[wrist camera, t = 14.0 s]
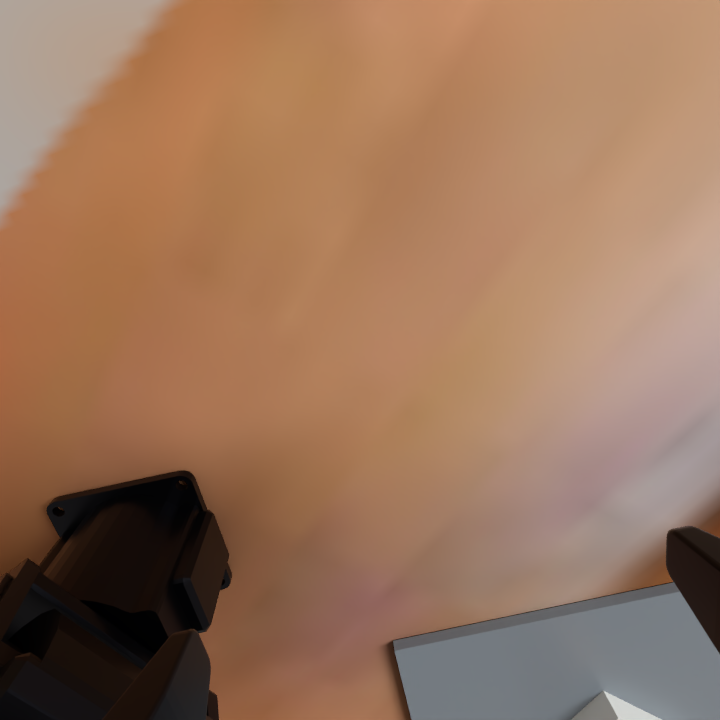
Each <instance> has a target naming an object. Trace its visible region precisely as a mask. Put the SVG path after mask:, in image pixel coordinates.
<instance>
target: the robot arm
mask: <svg viewBox="0 0 720 720" xmlns="http://www.w3.org/2000/svg"><path fill="white" fill-rule="evenodd" d="M178 481H185V482H186V483H187V485H182V484H180V483H179V482H178ZM58 507H61V508H63V510H64V511H62V510H60V509H59V508H58ZM46 511H47V514H48V516H49V518H50V520H51V522H52V524H53V526H54V527H55V529H56V531H57V533H58V535H59V537H60V539H59V540H58V541H57V543H56V544H55V545H54V546H53V548H52V549H51V550H50V552H49V553H48V554H47V556H46V557H45V558H44V560H43V561H42V562H41V564H40V565H39V566H38V565H36V564H35V563H34V562H32V561H31V560H29V559H28V558H27V559H26V560H24V561H23V562H22V563H20V564H19V565H18V566H17V567H15V568H14V569H13V570H12V571H10V572H9V573H5V574H4V575H2V576H0V720H219V715H218V701H217V695H216V694H214V693H213V692H211V691H210V690H209V684H210V673H211V666H210V660H209V656H208V654H207V652H206V650H205V647H204V645H203V643H202V641H201V638H200V636H199V634H198V633H202V632H206V631H207V630H208V628H209V626H210V625H211V622H212V618H213V614H214V611H215V607H216V603H217V599H218V596H219V592H220V590H222V589H225V588H227V587H228V586H229V585H230V582H231V578H232V573H231V570H230V567H229V565H228V558H229V553H228V550H227V548H226V545H225V542H224V540H223V537H222V534H221V532H220V529H219V526H218V524H217V521H216V519H215V516H214V514H213V513H212V512H211V511H209V510H207V508H206V505H205V502H204V500H203V497H202V495H201V492H200V489H199V487H198V484H197V482H196V479H195V477H194V475H193V474H191V473H190V472H188V471H177V472H172V473H168V474H163V475H158V476H154V477H149V478H144V479H140V480H135V481H130V482H126V483H121V484H116V485H111V486H107V487H102V488H97V489H93V490H88V491H83V492H79V493H74V494H69V495H65V496H60V497H57V498H55V499H54V500H53V501H52V502H51V503H50V504H49V505H48V507H47V510H46ZM666 566H667V570H668V573H669V575H670V577H671V578H672V580H673V582H674V583H675V585H676V586H677V588H678V589H679V591H680V593H681V594H682V596H683V597H684V599H685V601H686V602H687V604H688V605H689V607H690V608H691V610H692V612H693V613H694V615H695V616H696V618H697V620H698V621H699V623H700V624H701V626H702V627H703V629H704V631H705V632H706V634H707V635H708V637H709V639H710V640H711V642H712V643H713V645H714V646H715V648H716V649H717V651H718V652H719V654H720V538H718V537H716V536H714V535H712V534H710V533H707V532H705V531H703V530H701V529H699V528H696V527H693V526H685V527H680V528H675V529H671V530H669V531H668V533H667V542H666ZM223 578H224V579H223Z"/></svg>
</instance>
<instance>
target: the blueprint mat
mask: <svg viewBox="0 0 720 720" xmlns="http://www.w3.org/2000/svg"><path fill="white" fill-rule="evenodd" d="M393 644H394V651H395V655H396V659H397V663H398V667H399V671H400V675H401V679H402V683H403V687H404V691H405V695H406V699H407V703H408V707H409V711H410V715H411V719H412V720H720V654H719V652H718V651H717V649H716V648H715V646H714V645H713V643H712V642H711V640H710V639H709V637H708V635H707V634H706V632H705V631H704V629H703V627H702V626H701V624H700V623H699V621H698V620H697V618H696V616H695V615H694V613H693V612H692V610H691V608H690V607H689V605H688V604H687V602H686V601H685V599H684V597H683V596H682V594H681V593H680V591H679V589H678V588H677V586H676V585H675V583H674V582H673V583H668V584H663V585H658V586H654V587H649V588H644V589H639V590H634V591H630V592H625V593H620V594H615V595H610V596H606V597H601V598H596V599H591V600H586V601H582V602H577V603H572V604H567V605H562V606H557V607H553V608H548V609H543V610H538V611H533V612H529V613H524V614H519V615H514V616H509V617H505V618H500V619H495V620H490V621H485V622H481V623H476V624H471V625H466V626H461V627H457V628H452V629H447V630H442V631H437V632H433V633H428V634H423V635H418V636H413V637H408V638H404V639H399V640H394V641H393Z"/></svg>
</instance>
